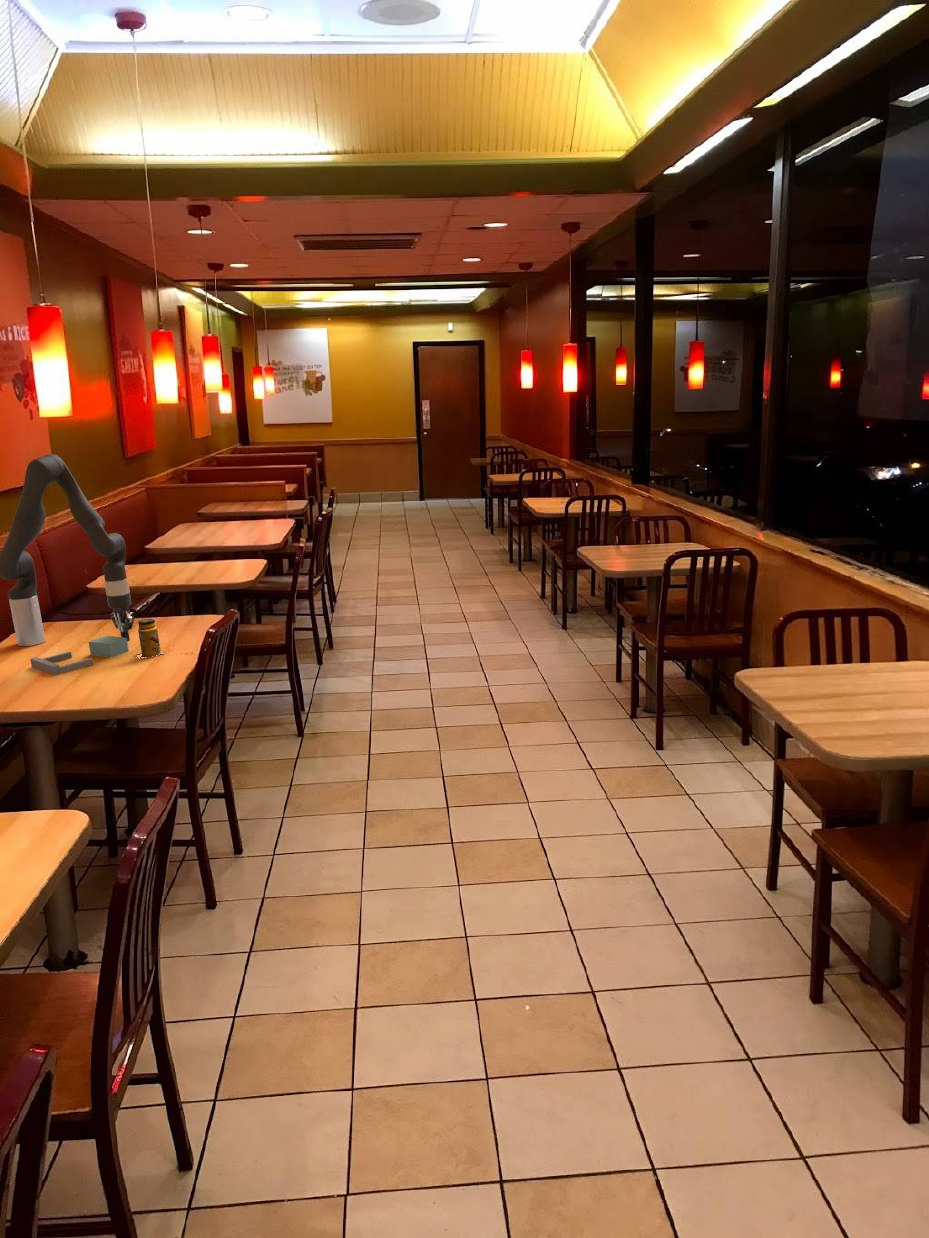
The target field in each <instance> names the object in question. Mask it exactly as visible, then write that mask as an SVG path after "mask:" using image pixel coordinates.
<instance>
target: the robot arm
mask: <svg viewBox="0 0 929 1238" xmlns="http://www.w3.org/2000/svg"><path fill="white" fill-rule="evenodd" d="M55 483H57V485H58V486H59V487H60V488H61V489H62V491H64V494H65V496H66V498H67V501H68V505H69V510H70V513H71V515H72V517H73V518H74V520H75V521H76V522H77V524H79V526H80V527H81V528H82V530H83V531H84V532H85V533H86V536H87V538H88V539H89V542H90V544H91V545H92V547H93V549H94V550H95V552H96V553H98V554H99V555H100V556H102V557H105V558H106V562H105V563H104V565H103V567H102V573H103V576H104V582H105V583H104V587H105V588H104V589H105V594H106V600H107V601H106V602H107V605H108V607H109V608H110V609H112V613H109V617H110V619H111V621H112V623H113V626H114V627H115V629H116V630H118V631H119V633H120V637H123V638H127V643H128V642H130V641H131V639H130V634H129V631H130V630H132V629H133V625H134V622H135V616H131V612H130V609H129V606H131V605H132V597H131V591H130V585H129V581H128V578H127V570H126V559H127V558H126V557H127V556H126V555H127V547H126V545H127V544H126V542H125V539H124V538H123V536H122V535H121V534H120V533H117V532H111V533H107V532H106V530H105V525H106V522H105V520H104V519H103V517H102V516H101V515H100V513H99V512H98V511H97V510H96V509H95V508H94V506H93V505H92V504H91V503H90V501H89V500H88V499H87V497H86V495H85V494H84V493H83V491H82V490H81V489H82V488H81V487H80V486H79V484H78V482H77V481H76V479H75V477H74V476H73V474H72V472H71V470H70V469H69V468H68V466H67V464H66V463H65V462H64V460H63V459H62V458H61V457H60V456H59V455H57V454H54V453H48V454H45V455H43V456H40V457H36V458H33V459H31V460H30V461H29V463H28V464H27V466H26V470H25V475H24V481H23V486H22V492H21V494H20V497H19V498H20V499H19V502H18V505H17V507H16V511H15V514H14V516H13V520H12V524H11V526H10V530H9V533H8V536H7V538H6V540H5V542H4V545H3V548H2V549H1V552H0V578H1V579H3V580H4V581H14V580H17V582H16V583H15V584H14V586H12V587H11V588H10V589H9V590H8V591H7V597H8V601H9V607H10V611H11V617H12V623H13V627H14V628H13V629H14V632H15V638H16V644H17V646H19V647H30V646H36V645H39V644H43V643H45V642H46V637H45V631H44V625H43V621H42V620H43V619H42V615H41V609H40V603H39V599H38V598H39V597H38V593H37V589H38V584H37V574H36V567H35V563H34V559H33V557H32V556H31V555H32V554H30V553H29V552H27V551H25V550H26V549H27V548H28V546H29V545H31V544H32V542H33V541H34V540H36V538H37V537H38V536H39V535H40V533H41V531H42V529H43V525H44V524H45V520H46V515H47V513H46V510H45V505H44V503H43V497H44V494H45V491H46V489H47V487H48V486H49V485H51V484H55Z"/></svg>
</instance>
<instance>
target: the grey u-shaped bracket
mask: <svg viewBox="0 0 929 1238" xmlns="http://www.w3.org/2000/svg"><path fill="white" fill-rule="evenodd" d="M72 658H73V655H72V651H65V652H61V653H58V654H54V655H51V656H45V657H43V658H41V657H37V656H35V657H30V658H29V660H30V664H31V665H30V666H31V668H32V667H33V668H32V669H35V670H38V671H41V672H43V673H47V674H49V673H50V674H49V675H53V676H57V675H60V673H62V674H64V673H65V674H66V673H69V672H71V671H76V670H79V668H80V669H84V668H86V667H90V666H94V665H93V664H94V659H93V658H92V657H89V658H86V659H83V660H78V661H76V662H70V663H68V664H64V665H60V664H57V662H61V661H64V660H65V661H66V660H69V659H72Z"/></svg>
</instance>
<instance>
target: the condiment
mask: <svg viewBox="0 0 929 1238" xmlns="http://www.w3.org/2000/svg"><path fill="white" fill-rule="evenodd" d="M137 624H138V630H137V631H138V638H139V644H140V645H139V646H140V649H141V653H136V654H133V656H134V658H136V657H137V655H140V654H142V656H141V657H144V658H141V657H140V659H139V658H138V657H137V658H136V659H137V660H139V661H140V660H145V657H148V658H153V657H152V656H155V657H157V656H156V655H159V654H164V653H163V652H162V651H161V643H160V638H159V632H158V627H157V626H156V620H155V619H154V618H143V619H140V620H139V621H138V623H137ZM148 658H147V659H148Z"/></svg>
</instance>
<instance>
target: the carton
mask: <svg viewBox="0 0 929 1238" xmlns="http://www.w3.org/2000/svg"><path fill="white" fill-rule="evenodd" d="M87 642H88V647H89V652H90V656H94V655H96V657H102V656H103V658H104V657H105V658H110V657H112V658H114V657H117V656H119V655H118V654H120V655H122V654H125V653H127V652H129V651H130V650H129V645H128V642H127V638H123V637H121V636H113V635H103V636H101V637H98V638H94V639H92V640H90V641H87Z"/></svg>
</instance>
